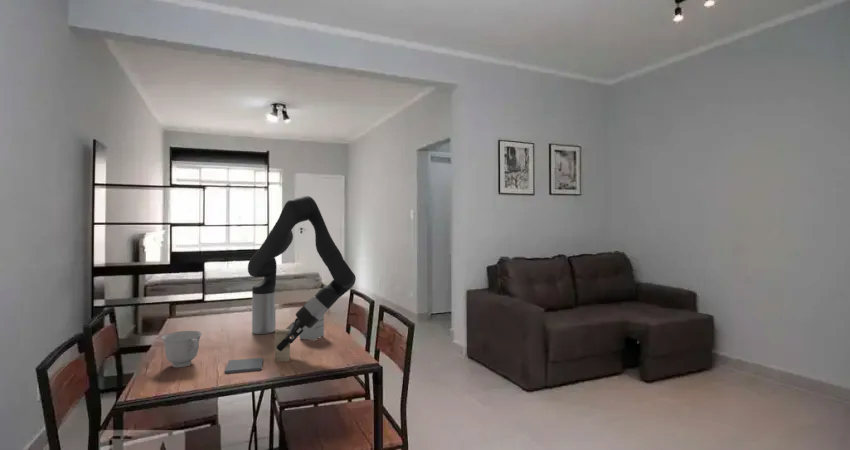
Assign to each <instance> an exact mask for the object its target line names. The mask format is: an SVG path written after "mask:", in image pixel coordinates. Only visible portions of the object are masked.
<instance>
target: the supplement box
mask: <svg viewBox="0 0 850 450" xmlns="http://www.w3.org/2000/svg"><path fill="white" fill-rule="evenodd" d="M324 331H325V314H324V315H323V316H322V317H321V318H320V319H319V320H318V321H317V322H316V323H315V324H314V326H313V327H312V328H308V327H307V326H304V328H303V332H302V333H301V334H300V335H299V336H298V337H299V338H300V339H299V340H306V339H310V340H309V341H312V340H315V339H317V338H319V337H322V336H325V334H324V333H325V332H324ZM322 338H323V337H322ZM317 340H318V339H317ZM315 341H316V340H315Z"/></svg>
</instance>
